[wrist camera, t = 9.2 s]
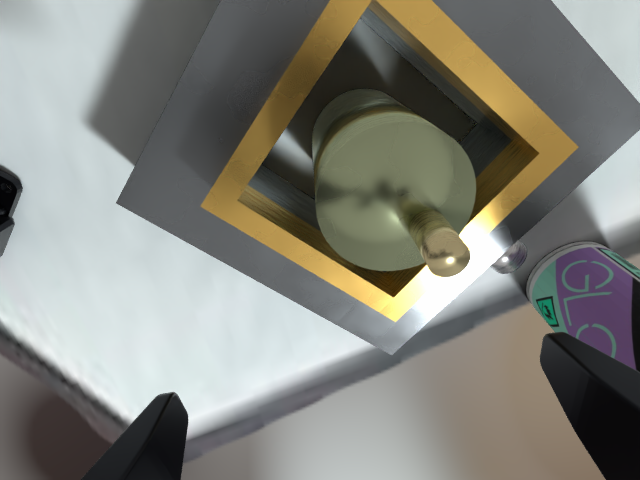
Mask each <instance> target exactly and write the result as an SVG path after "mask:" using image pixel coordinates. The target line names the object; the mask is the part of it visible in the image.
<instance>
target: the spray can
mask: <svg viewBox="0 0 640 480" xmlns="http://www.w3.org/2000/svg"><path fill="white" fill-rule="evenodd" d="M526 292H527V297H528V299H529V301H530V303H531V304H532V305H533V307H534V308H535V309H536V310H537V311H538V313H539V314H540V315H541V316H542V317H543V318H544V320H546V322H547V323H548V324H549V326H550V327H551V328H552V329H553V330H554V331H555V332H565V333H568V334H570V335H571V336H573V337H575V338H577V339H579V340H581V341H583V342H585V343H586V344H588V345H590V346H592V347H594V348H596V349H598V350H599V351H601V352H603V353H605V354H607V355H609V356H611V357H613V358H614V359H616V360H618V361H620V362H622V363H624V364H626V365H628V366H629V367H631V368H633V369H635V370H637V371H639V372H640V270H639V269H638V268H637V267H635V266H634V265H632V264H631V263H629V262H628V261H626V260H625V259H624V258H622V257H621V256H619V255H618V254H616V253H615V252H613V251H612V250H610V249H608V248H607V247H605V246H603V245H601V244H599V243H595V242H576V243H571V244H568V245H565V246H562V247H560V248H558V249H556V250H554V251H553V252H551V253H550V254H548V255H547V256H545V257H544V258H543V259H542V260H541V261H540V262H539V263H538V264H537V265H536V266H535V268H534V269H533V271H532V272H531V274H530V276H529V278H528V281H527V287H526Z"/></svg>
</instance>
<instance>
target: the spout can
mask: <svg viewBox="0 0 640 480" xmlns="http://www.w3.org/2000/svg"><path fill="white" fill-rule="evenodd" d="M312 154H313V170H314V186H315V202H316V214H317V219H318V223H319V227H320V229H321V231H322V234H323V236H324V237H325V239H326V241H327V242H328V243H329V245H330V246H331V247H332V248H333V249H334V250H335V251H336V252H337V253H338V254H339V255H340V256H341V257H343V258H344V259H346V260H347V261H349V262H351V263H353V264H355V265H358V266H360V267H363V268H367V269H371V270H378V271H396V270H403V269H408V268H411V267H415V266H418V265H420V264H423V263H426V265H427V267H428V268H429V270H430V271H431V273H433V274H434V275H436V276H438V277H444V278H446V277H452V276H455V275H457V274H459V273H461V272H462V271H463V270H464V269H465V268H466V267H467V266H468V264H469V262H470V259H471V253H470V250H469V248H468V246H467V245H466V244H465V243H464V241H463V240H462V239H461V238H460V236H459V235H460V233H461V232H462V231H463V229H464V228H465V226H466V224H467V222H468V220H469V218H470V216H471V213H472V210H473V207H474V203H475V196H476V179H475V174H474V170H473V167H472V164H471V161H470V159H469V157H468V156H467V154H466V152H465V151H464V150H463V148H462V147H461V146H460V145H459V144H458V143H457V142H456V141H455V140H454V139H453V138H452V137H451V136H449V135H448V134H446V133H445V132H443V131H442V130H440V129H439V128H437V127H436V126H434V125H433V124H431V123H430V122H428V121H427V120H425V119H424V118H422V117H421V116H419V115H418V114H416V113H415V112H413V111H412V110H410V109H409V108H407V107H406V106H404V105H403V104H401V103H400V102H398V101H397V100H395V99H394V98H392V97H391V96H389V95H387V94H385V93H384V92H381V91H378V90H374V89H355V90H351V91H348V92H345V93H343V94H341V95H339V96H337V97H336V98H334V99H333V100H332V101H330V102H329V103H328V104H327V105H326V106H325V108H324V109H323V110H322V111H321V113H320V115H319V116H318V118H317V120H316V123H315V126H314V129H313V134H312Z"/></svg>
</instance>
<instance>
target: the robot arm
mask: <svg viewBox="0 0 640 480" xmlns="http://www.w3.org/2000/svg"><path fill="white" fill-rule="evenodd" d="M6 184H8V185H10V186H11V188H12V190H11V189H9V188H8V187H7V185H6ZM22 189H23V187H22V184H21V183H20V182H19V180H17V179H16V178H14V177H12V176H11V175H9V174H7V173H5V172H3V171H1V170H0V257H1V256H2V255H3V252H4V250H5V247H6V245H7V242H8V240H9V237H10V235H11V232H12V230H13V227H14V225H15V223H14V219H13V218H12V216H13V213H14V211H15V208H16V206H17V203H18V201H19V198H20V195H21V193H22ZM540 363H541V366H542V369H543V371H544V373H545V375H546V377H547V379H548V380H549V382H550V384H551V386H552V388H553V390H554V392H555V394H556V396H557V398H558V400H559V402H560V404H561V406H562V408H563V410H564V412H565V414H566V416H567V418H568V420H569V421H570V423H571V425H572V427H573V429H574V431H575V432H576V434H577V435H578V437H579V439H580V440H581V442H582V443H583V445H584V447H585V448H586V450H587V451H588V453H589V454H590V456H591V457H592V459H593V461H594V462H595V464H596V465H597V466H598V468H599V470H600V471H601V473H602V474H603V476H604V478H605V479H606V480H640V372H639V371H637V370H635V369H633V368H631V367H629V366H628V365H626V364H624V363H622V362H620V361H618V360H616V359H614V358H613V357H611V356H609V355H607V354H605V353H603V352H601V351H599V350H598V349H596V348H594V347H592V346H590V345H588V344H586V343H585V342H583V341H581V340H579V339H577V338H575V337H573V336H571V335H570V334H568V333H565V332H555V333H549V334H546V335H545V336H544V338H543V342H542V349H541V354H540ZM187 427H188V414H187V411H186V409H185V408H184V406H183V404H182V402H181V400H180V398H179V396H178V395H177V394H176V393H175V392H170V393H164V394H160V395H158V396H156V397H155V398H154V400H153V401H152V402H151V403H150V404H149V405H148V406H147V407H146V408H145V409H144V410H143V412H142V413H141V414H140V415H139V416H138V417H137V418H136V419H135V420H134V421H133V423H132V424H131V425H130V426H129V427H128V428H127V429H126V430H125V431H124V432H123V434H122V435H121V436H120V437H119V438H118V439H117V440H116V441H115V442H114V443H113V445H112V446H111V447H110V448H109V449H108V450H107V451H106V452H105V453H104V455H103V456H102V457H101V458H100V459H99V460H98V461H97V462H96V463H95V464H94V465H93V467H92V468H91V469H90V470H89V471H88V472H87V473H86V474H85V475H84V477H82V479H81V480H181V473H182V466H183V458H184V450H185V443H186V435H187Z"/></svg>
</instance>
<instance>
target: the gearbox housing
mask: <svg viewBox="0 0 640 480" xmlns="http://www.w3.org/2000/svg"><path fill="white" fill-rule="evenodd" d="M359 18H361V19H362V20H363V21H364V22H365V23H366V24H367V25H368V26H370V27H371V28H372V29H373V30H374V31H375V32H376V33H377V34H378V35H380V36H381V37H382V38H383V39H384V40H385V41H386V42H387V43H388V44H389V45H391V46H392V47H393V48H394V49H395V50H396V51H397V52H398V53H399V54H401V55H402V56H403V57H404V58H405V59H406V60H407V61H408V62H409V63H411V64H412V65H413V66H414V67H415V68H416V69H417V70H418V71H419V72H421V73H422V74H423V75H424V76H425V77H426V78H427V79H428V80H429V81H431V82H432V83H433V84H434V85H435V86H436V87H437V88H438V89H439V90H441V91H442V92H443V93H444V94H445V95H446V96H447V97H448V98H449V99H451V100H452V101H453V102H454V103H455V104H456V105H457V106H458V107H459V108H461V109H462V110H463V111H464V112H465V113H466V114H467V115H468V116H469V117H471V118H472V119H473V120H474V121H475V122H476V123H477V125H476V126H475V127H474V128H473V129H472V130H471V131H470V132H469V133H468V135H467V136H466V137H465V138H464V139H463V140H462V141H461V142H460V143H459V145H460V146H461V147H462V148H463V150H464V151H465V152H466V154H467V156H468V157H469V159H470V161H471V164H472V167H473V170H474V174H475V179H476V196H475V203H474V207H473V210H472V213H471V216H470V218H469V220H468V222H467V224H466V226H465V228H464V229H463V231H462V232H461V233H460V235H459V236H460V238H461V239H462V240H463V241H464V243H465V244H466V245H467V246H468V248H469V250H470V253H471V259H470V262H469V264H468V266H467V267H466V268H465V269H464V270H463V271H462V272H461V273H459V274H457V275H455V276H452V277H446V278H444V277H438V276H436V275H434V274H433V273H431V271H430V270H429V268H428V267H427V265H426V263H423V264H420V265H418V266H415V267H411V268H408V269H403V270H396V271H378V270H371V269H367V268H363V267H360V266H358V265H355V264H353V263H351V262H349V261H347V260H346V259H344V258H343V257H341V256H340V255H339V254H338V253H337V252H336V251H335V250H334V249H333V248H332V247H331V246H330V245H329V243H328V242H327V241H326V239H325V237H324V236H323V234H322V231H321V229H320V227H319V223H318V219H317V214H316V202H315V200H314V199H313V198H311V197H310V196H308V195H307V194H305V193H304V192H302V191H301V190H299V189H298V188H296V187H295V186H293V185H292V184H290V183H289V182H287V181H286V180H284V179H283V178H281V177H280V176H278V175H277V174H275V173H274V172H272V171H271V170H269V169H268V168H266V167H265V166H263V165H262V162H263V161H264V159H265V158H266V156H267V155H268V153H269V152H270V150H271V149H272V147H273V146H274V145H275V143H276V142H277V140H278V139H279V137H280V136H281V134H282V133H283V131H284V130H285V128H286V127H287V125H288V124H289V122H290V121H291V119H292V118H293V116H294V115H295V113H296V112H297V110H298V109H299V107H300V106H301V104H302V103H303V101H304V100H305V98H306V97H307V96H308V94H309V93H310V91H311V90H312V88H313V87H314V85H315V84H316V82H317V81H318V79H319V78H320V76H321V75H322V73H323V72H324V70H325V69H326V67H327V66H328V64H329V63H330V61H331V60H332V58H333V57H334V55H335V54H336V52H337V51H338V50H339V48H340V47H341V45H342V44H343V42H344V41H345V39H346V38H347V36H348V35H349V33H350V32H351V30H352V29H353V27H354V26H355V24H356V23H357V21H358V20H359ZM639 130H640V103H639V102H638V101H637V100H636V99H635V97H634V96H633V95H632V94H631V93H630V92H629V90H628V89H627V88H626V87H625V86H624V85H623V84H622V82H621V81H620V80H619V79H618V78H617V77H616V75H615V74H614V73H613V72H612V71H611V70H610V68H609V67H608V66H607V65H606V64H605V63H604V61H603V60H602V59H601V58H600V57H599V56H598V54H597V53H596V52H595V51H594V50H593V49H592V47H591V46H590V45H589V44H588V43H587V42H586V40H585V39H584V38H583V37H582V36H581V35H580V34H579V32H578V31H577V30H576V29H575V28H574V27H573V25H572V24H571V23H570V22H569V21H568V20H567V18H566V17H565V16H564V15H563V14H562V13H561V11H560V10H559V9H558V8H557V7H556V6H555V4H554V3H553V2H552V1H551V0H221V1H220V3H219V5H218V7H217V9H216V10H215V12H214V14H213V16H212V18H211V20H210V22H209V24H208V26H207V28H206V30H205V32H204V34H203V36H202V38H201V39H200V41H199V43H198V45H197V47H196V49H195V51H194V53H193V55H192V57H191V59H190V61H189V63H188V65H187V67H186V68H185V70H184V72H183V74H182V76H181V78H180V80H179V82H178V84H177V86H176V88H175V90H174V92H173V94H172V96H171V97H170V99H169V101H168V103H167V105H166V107H165V109H164V111H163V113H162V115H161V117H160V119H159V121H158V123H157V125H156V127H155V128H154V130H153V132H152V134H151V136H150V138H149V140H148V142H147V144H146V146H145V148H144V150H143V152H142V154H141V156H140V157H139V159H138V161H137V163H136V165H135V167H134V169H133V171H132V173H131V175H130V177H129V179H128V181H127V183H126V185H125V186H124V188H123V190H122V192H121V194H120V196H119V198H118V200H117V202H116V203H117V204H119V205H120V206H122V207H124V208H126V209H128V210H129V211H131V212H133V213H135V214H137V215H138V216H140V217H142V218H144V219H146V220H148V221H149V222H151V223H153V224H155V225H157V226H158V227H160V228H162V229H164V230H166V231H167V232H169V233H171V234H173V235H175V236H177V237H178V238H180V239H182V240H184V241H186V242H187V243H189V244H191V245H193V246H195V247H196V248H198V249H200V250H202V251H204V252H206V253H207V254H209V255H211V256H213V257H215V258H216V259H218V260H220V261H222V262H224V263H225V264H227V265H229V266H231V267H233V268H235V269H236V270H238V271H240V272H242V273H244V274H245V275H247V276H249V277H251V278H253V279H254V280H256V281H258V282H260V283H262V284H264V285H265V286H267V287H269V288H271V289H273V290H274V291H276V292H278V293H280V294H282V295H283V296H285V297H287V298H289V299H291V300H293V301H294V302H296V303H298V304H300V305H302V306H303V307H305V308H307V309H309V310H311V311H312V312H314V313H316V314H318V315H320V316H322V317H323V318H325V319H327V320H329V321H331V322H332V323H334V324H336V325H338V326H340V327H341V328H343V329H345V330H347V331H349V332H351V333H352V334H354V335H356V336H358V337H360V338H361V339H363V340H365V341H367V342H369V343H370V344H372V345H374V346H376V347H378V348H380V349H381V350H383V351H385V352H387V353H389V354H390V355H392V354H394V353H395V352H396V351H397V350H398V349H399V348H400V347H401V346H402V345H403V344H405V343H406V342H407V341H408V340H409V339H410V338H411V337H412V336H413V335H414V334H416V333H417V332H418V331H419V330H420V329H421V328H422V327H423V326H424V325H425V324H427V323H428V322H429V321H430V320H431V319H432V318H433V317H434V316H435V315H436V314H438V313H439V312H440V311H441V310H442V309H443V308H444V307H445V306H446V305H447V304H449V303H450V302H451V301H452V300H453V299H454V298H455V297H456V296H457V295H458V294H460V293H461V292H462V291H463V290H464V289H465V288H466V287H467V286H468V285H469V284H471V283H472V282H473V281H474V280H475V279H476V278H477V277H478V276H479V275H480V274H482V273H483V272H484V271H485V270H486V269H487V268H488V267H489V266H490V267H491V268H493V269H494V270H495V271H497V272H498V273H501V274H507V273H511V272H513V271H515V270H516V269H518V268H519V267H520V266H521V265H522V264H523V262H524V261H525V259H526V256H527V248H526V246H525V245H524V244H523V243H522V242H520V241H519V239H520V238H521V237H522V236H523V235H524V234H525V233H527V232H528V231H529V230H530V229H531V228H532V227H533V226H534V225H535V224H536V223H538V222H539V221H540V220H541V219H542V218H543V217H544V216H545V215H546V214H547V213H549V212H550V211H551V210H552V209H553V208H554V207H555V206H556V205H557V204H558V203H560V202H561V201H562V200H563V199H564V198H565V197H566V196H567V195H568V194H569V193H571V192H572V191H573V190H574V189H575V188H576V187H577V186H578V185H579V184H580V183H582V182H583V181H584V180H585V179H586V178H587V177H588V176H589V175H590V174H591V173H593V172H594V171H595V170H596V169H597V168H598V167H599V166H600V165H601V164H602V163H604V162H605V161H606V160H607V159H608V158H609V157H610V156H611V155H612V154H613V153H615V152H616V151H617V150H618V149H619V148H620V147H621V146H622V145H623V144H624V143H626V142H627V141H628V140H629V139H630V138H631V137H632V136H633V135H634V134H635V133H637V132H638V131H639Z"/></svg>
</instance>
